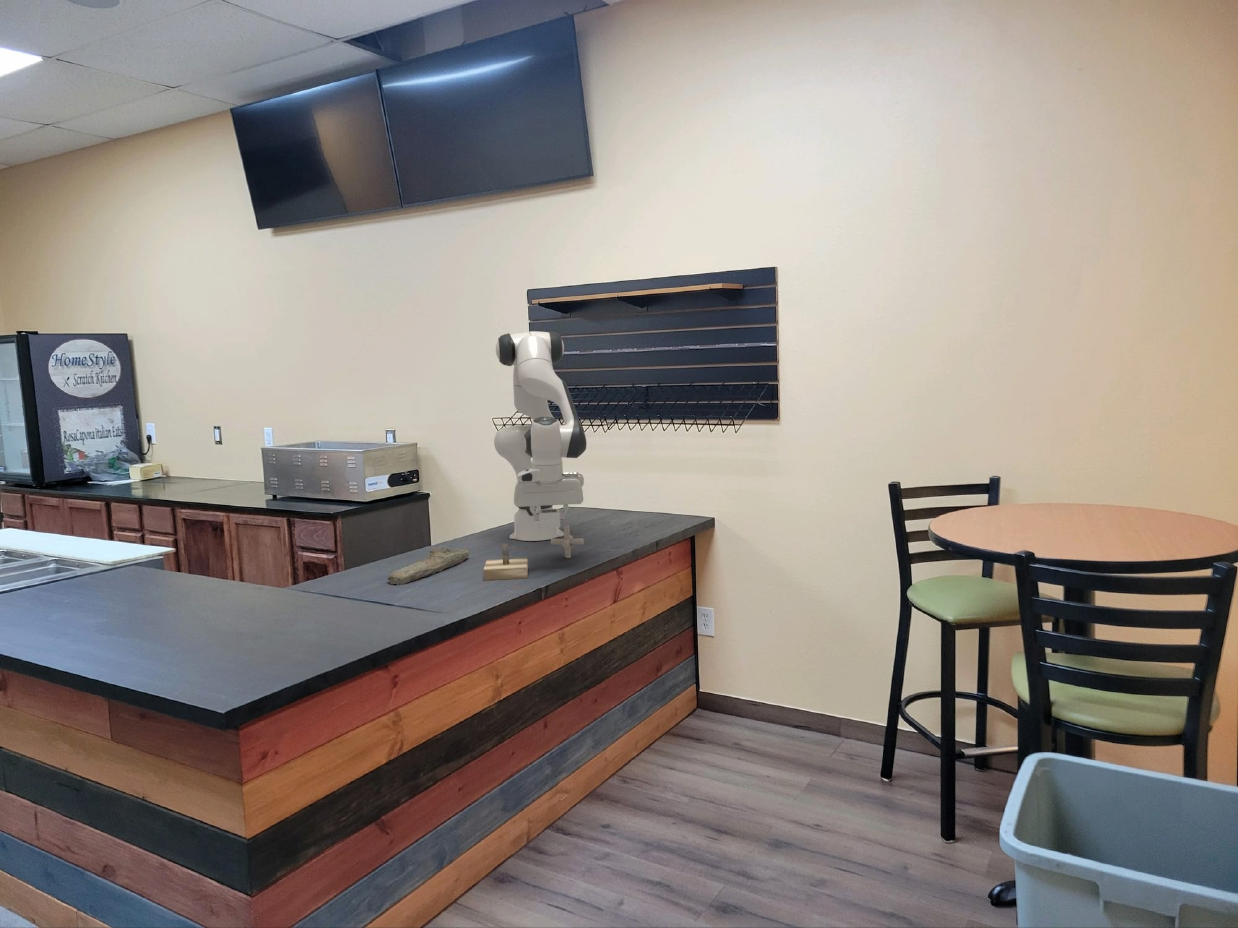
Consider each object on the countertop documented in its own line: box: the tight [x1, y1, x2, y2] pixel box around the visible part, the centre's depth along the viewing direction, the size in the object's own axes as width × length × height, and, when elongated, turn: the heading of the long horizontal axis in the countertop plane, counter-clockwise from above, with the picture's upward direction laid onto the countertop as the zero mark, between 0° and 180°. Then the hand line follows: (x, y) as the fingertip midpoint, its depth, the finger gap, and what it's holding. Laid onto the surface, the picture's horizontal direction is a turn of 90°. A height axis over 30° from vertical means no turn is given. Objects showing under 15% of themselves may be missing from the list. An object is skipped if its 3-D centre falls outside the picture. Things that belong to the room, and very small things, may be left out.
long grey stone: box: [387, 546, 470, 585], centre depth 254 cm, size 35×5×10 cm
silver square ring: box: [539, 508, 561, 529], centre depth 249 cm, size 6×6×4 cm
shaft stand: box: [483, 543, 529, 581], centre depth 245 cm, size 12×12×8 cm
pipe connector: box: [550, 524, 585, 559], centre depth 263 cm, size 10×10×10 cm
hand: (549, 520), depth 249 cm, fingers closed on silver square ring, 6 cm apart
